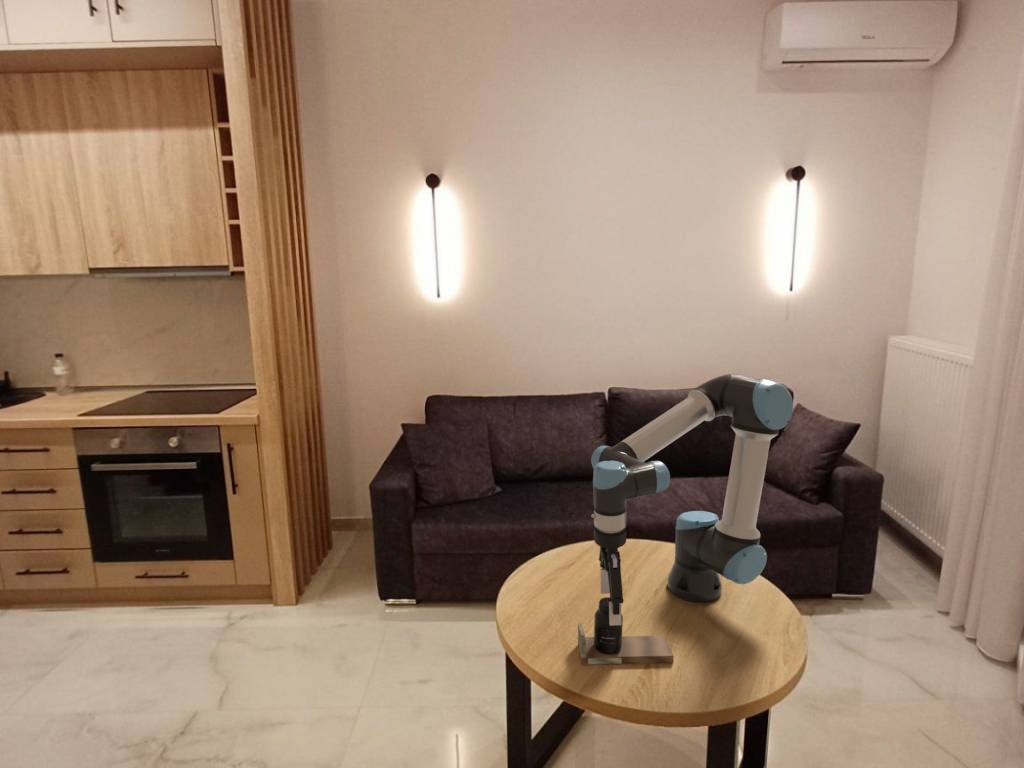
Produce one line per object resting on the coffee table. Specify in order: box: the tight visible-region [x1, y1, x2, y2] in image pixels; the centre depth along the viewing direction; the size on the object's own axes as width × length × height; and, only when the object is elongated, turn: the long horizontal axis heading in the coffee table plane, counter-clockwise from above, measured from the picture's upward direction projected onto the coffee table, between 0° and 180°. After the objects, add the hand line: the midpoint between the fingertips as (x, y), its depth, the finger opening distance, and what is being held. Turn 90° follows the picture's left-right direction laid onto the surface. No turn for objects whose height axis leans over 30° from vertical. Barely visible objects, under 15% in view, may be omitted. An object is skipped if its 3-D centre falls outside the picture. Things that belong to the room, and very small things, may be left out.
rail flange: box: [577, 622, 674, 666], centre depth 150 cm, size 22×8×6 cm, turn 90°
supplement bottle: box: [593, 596, 624, 654], centre depth 149 cm, size 7×7×12 cm
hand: (610, 608), depth 149 cm, fingers open, 13 cm apart
